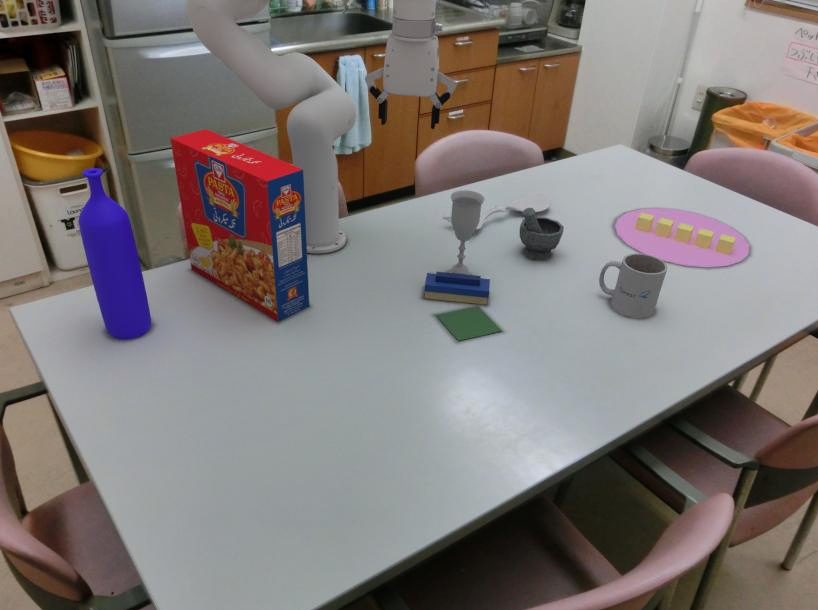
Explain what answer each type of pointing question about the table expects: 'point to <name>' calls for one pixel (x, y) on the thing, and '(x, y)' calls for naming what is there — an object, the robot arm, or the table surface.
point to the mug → (636, 284)
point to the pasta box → (244, 221)
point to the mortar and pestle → (539, 234)
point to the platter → (682, 237)
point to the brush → (457, 287)
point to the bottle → (113, 262)
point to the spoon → (516, 206)
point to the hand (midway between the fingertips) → (408, 124)
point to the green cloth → (468, 323)
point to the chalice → (464, 221)
